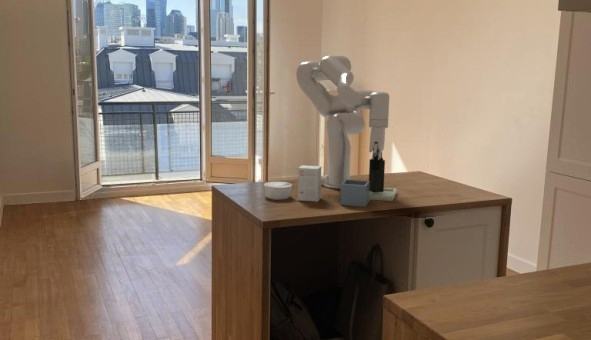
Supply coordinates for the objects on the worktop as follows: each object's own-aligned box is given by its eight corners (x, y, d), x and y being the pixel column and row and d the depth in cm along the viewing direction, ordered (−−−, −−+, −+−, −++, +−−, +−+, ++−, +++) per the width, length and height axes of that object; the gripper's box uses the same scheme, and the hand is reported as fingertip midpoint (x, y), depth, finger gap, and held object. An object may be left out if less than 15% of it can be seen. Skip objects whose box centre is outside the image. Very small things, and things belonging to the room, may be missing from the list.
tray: (354, 198, 238) (354, 193, 238) (360, 190, 252) (360, 186, 252) (392, 201, 234) (392, 196, 234) (396, 193, 249) (396, 188, 248)
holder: (340, 204, 227) (340, 184, 226) (344, 199, 236) (345, 179, 235) (365, 206, 225) (366, 185, 223) (369, 201, 234) (369, 180, 233)
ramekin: (292, 200, 234) (292, 187, 233) (263, 200, 233) (264, 187, 232) (290, 194, 245) (291, 181, 244) (263, 194, 244) (263, 181, 243)
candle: (373, 192, 240) (376, 130, 235) (367, 190, 244) (369, 129, 240) (384, 191, 242) (387, 130, 237) (378, 189, 246) (380, 128, 242)
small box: (321, 198, 237) (321, 166, 235) (317, 202, 231) (318, 168, 229) (301, 197, 239) (301, 164, 237) (297, 200, 233) (297, 167, 231)
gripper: (372, 120, 247) (370, 163, 250) (365, 125, 231) (364, 171, 234) (390, 121, 245) (388, 165, 249) (385, 126, 229) (383, 172, 232)
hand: (376, 167), depth 241 cm, fingers closed on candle, 6 cm apart
